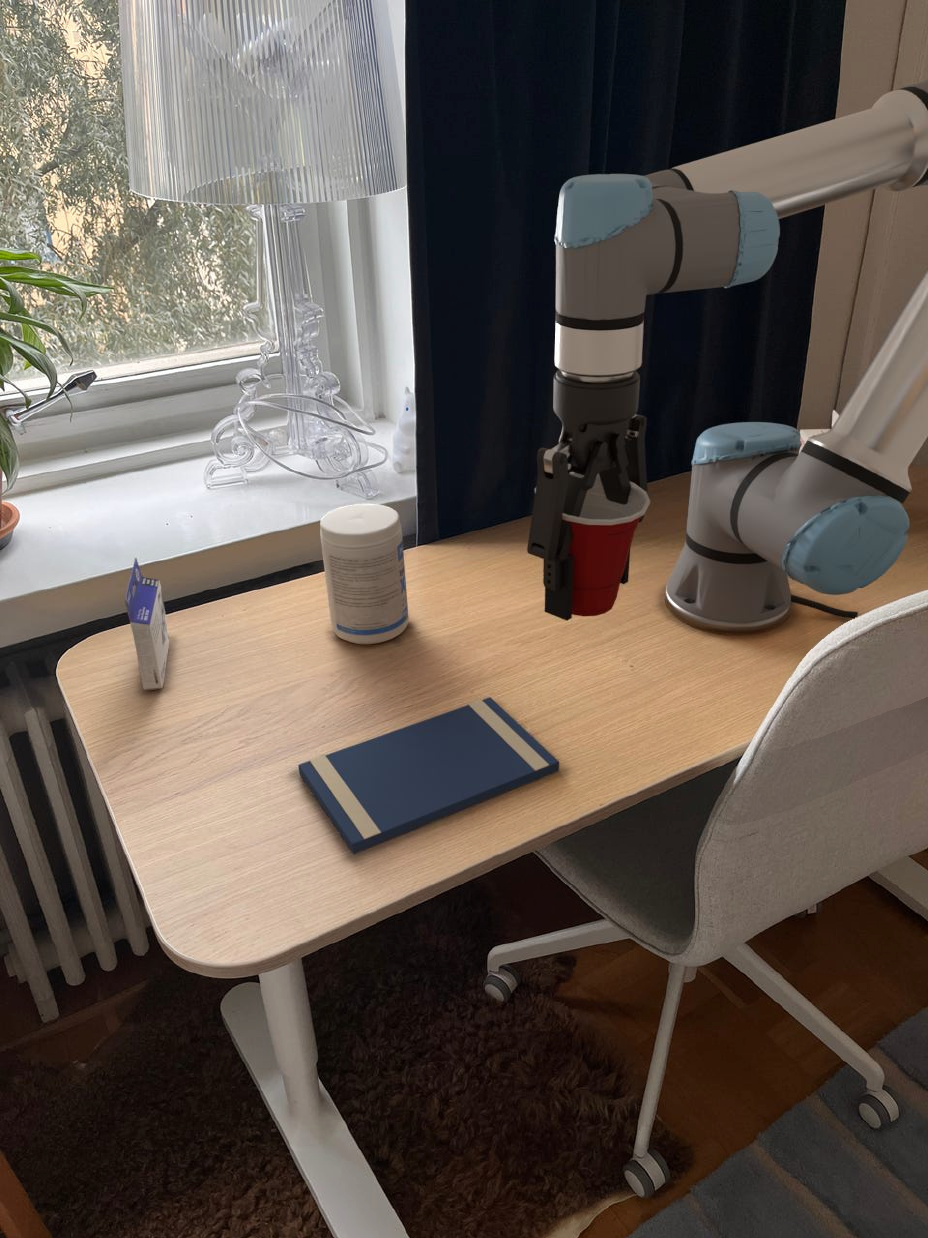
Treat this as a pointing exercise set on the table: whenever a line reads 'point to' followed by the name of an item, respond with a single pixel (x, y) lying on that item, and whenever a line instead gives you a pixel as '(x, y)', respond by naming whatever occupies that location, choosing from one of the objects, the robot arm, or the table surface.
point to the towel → (424, 772)
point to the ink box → (148, 627)
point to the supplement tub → (364, 572)
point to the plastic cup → (602, 546)
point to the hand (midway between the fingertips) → (587, 596)
